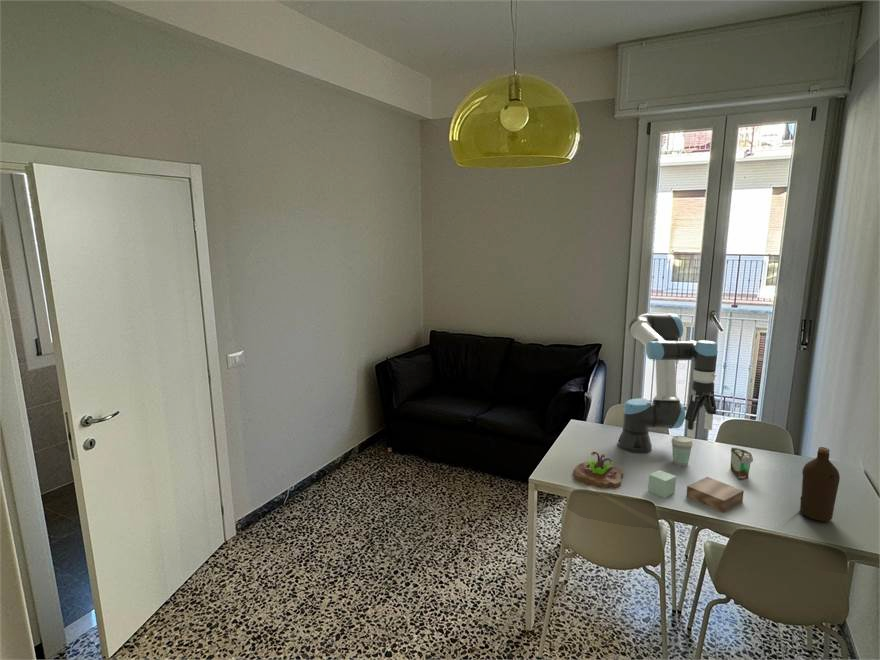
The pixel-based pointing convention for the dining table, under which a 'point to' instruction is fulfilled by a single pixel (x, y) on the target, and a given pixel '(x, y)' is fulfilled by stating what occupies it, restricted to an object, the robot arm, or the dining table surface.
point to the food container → (740, 463)
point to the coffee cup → (681, 450)
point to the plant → (598, 473)
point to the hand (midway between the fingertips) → (699, 433)
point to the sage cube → (662, 483)
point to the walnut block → (715, 494)
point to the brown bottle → (819, 487)
